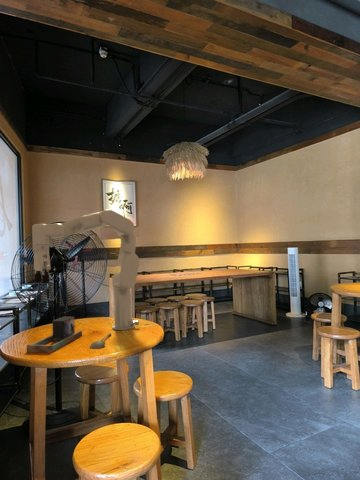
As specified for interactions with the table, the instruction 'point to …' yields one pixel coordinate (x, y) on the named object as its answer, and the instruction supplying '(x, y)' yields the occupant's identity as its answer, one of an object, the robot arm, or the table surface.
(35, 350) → the chute
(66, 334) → the small box
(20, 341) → the table surface
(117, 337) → the table surface
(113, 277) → the robot arm
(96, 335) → the table surface
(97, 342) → the soupspoon
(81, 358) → the table surface
